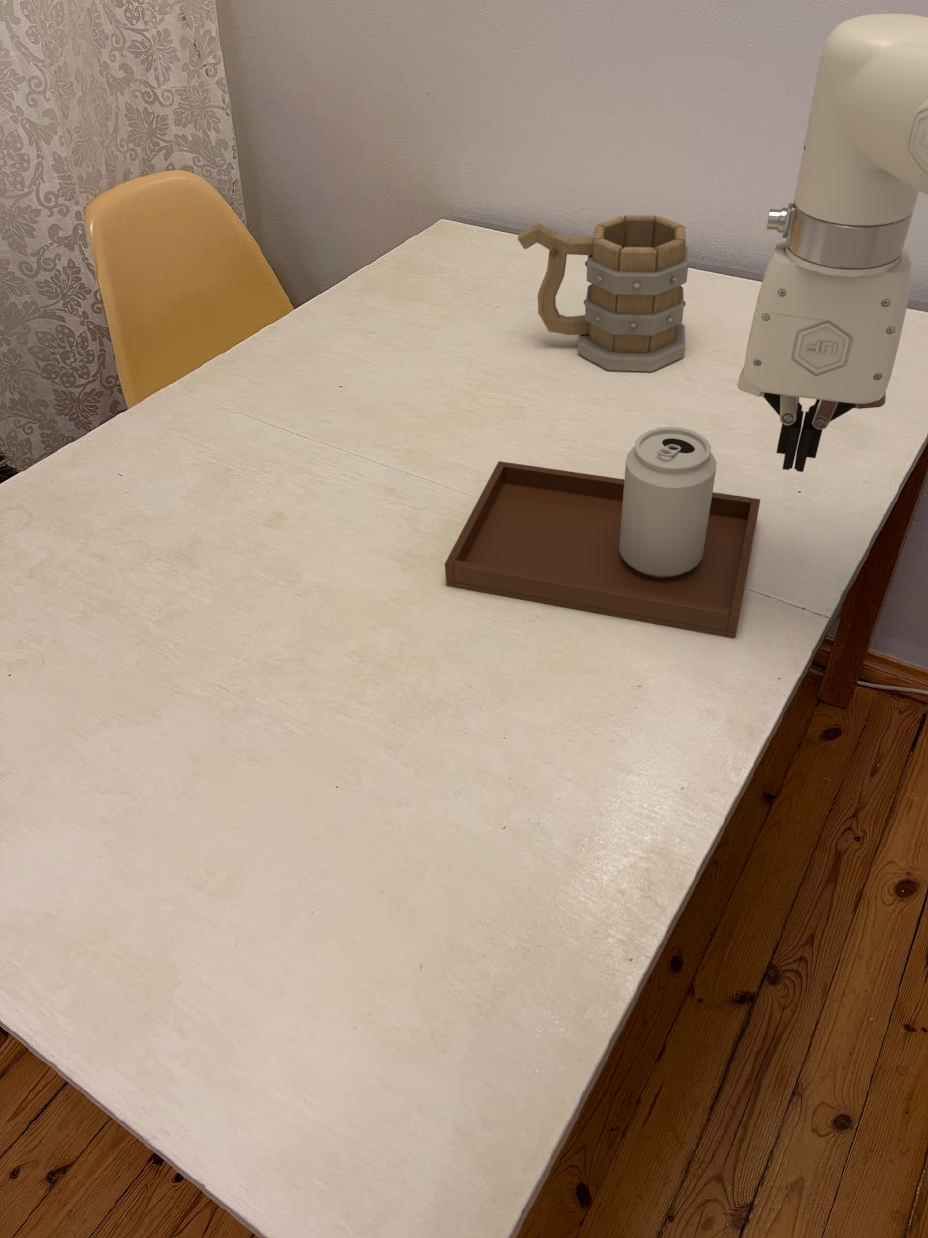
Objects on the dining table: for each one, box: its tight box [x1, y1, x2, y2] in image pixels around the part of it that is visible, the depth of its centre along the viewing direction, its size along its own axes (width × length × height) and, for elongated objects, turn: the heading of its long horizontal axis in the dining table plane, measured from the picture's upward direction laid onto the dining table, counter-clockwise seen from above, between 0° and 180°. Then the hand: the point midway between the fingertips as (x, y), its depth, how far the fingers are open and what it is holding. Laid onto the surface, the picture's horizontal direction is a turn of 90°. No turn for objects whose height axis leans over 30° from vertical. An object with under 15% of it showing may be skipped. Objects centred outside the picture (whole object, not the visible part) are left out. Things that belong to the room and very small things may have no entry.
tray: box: [444, 460, 761, 639], centre depth 89 cm, size 26×17×3 cm, turn 72°
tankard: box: [517, 214, 691, 373], centre depth 113 cm, size 20×13×15 cm, turn 82°
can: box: [619, 426, 717, 578], centre depth 84 cm, size 8×8×12 cm
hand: (794, 460), depth 77 cm, fingers closed
